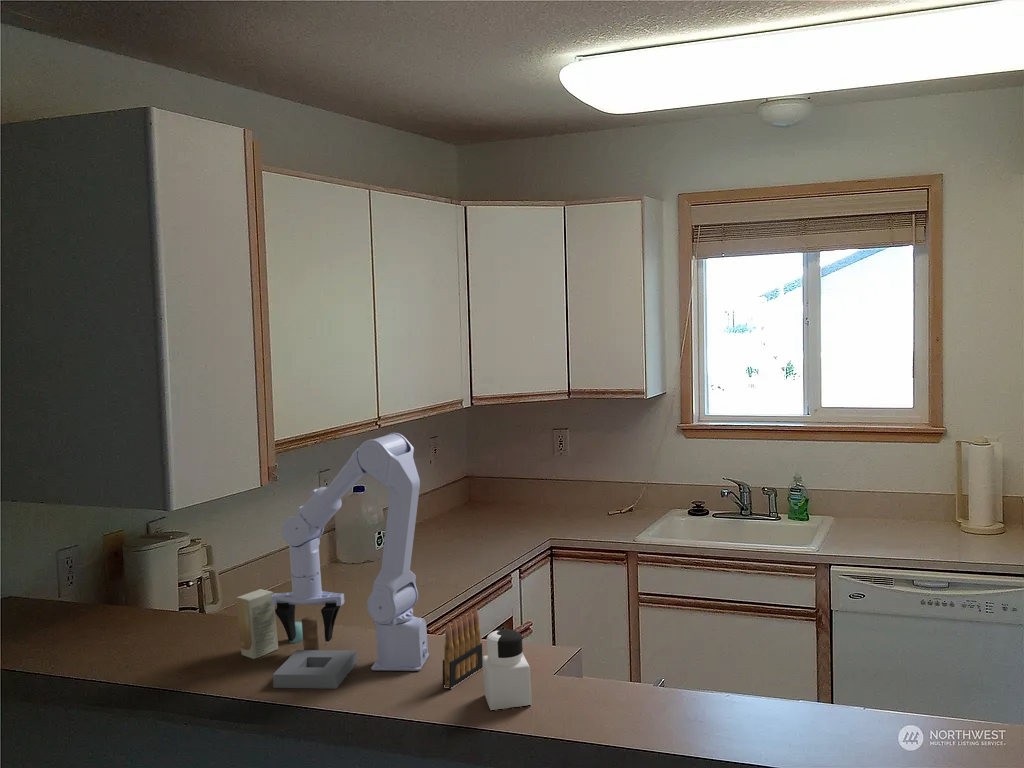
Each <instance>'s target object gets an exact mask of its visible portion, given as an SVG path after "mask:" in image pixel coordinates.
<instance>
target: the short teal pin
mask: <svg viewBox="0 0 1024 768" xmlns="http://www.w3.org/2000/svg"><path fill="white" fill-rule="evenodd" d="M295 629H296V638H295V639H294V640H293V641H289V640H288V643H290V644H296V643H297V644H298V643H301V642H303V633H302V621H295Z"/></svg>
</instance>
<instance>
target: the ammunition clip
mask: <svg viewBox="0 0 1024 768" xmlns="http://www.w3.org/2000/svg"><path fill="white" fill-rule="evenodd" d="M473 609H474V610H473V612H472V610H469V611H468V614H467V613H466V612H465V613H464V615H463V616H461V615H459V616H458V619H457V621H456V619H453V620H452V623H450V622H447V624H446V629H445V637H444V640H445V641H444V645H443V646H444V647H443V648H444V650H443V653H444V654H443V655H444V658H443V659H442V686H443V687H444V685H445V687H449V688H451V687H453V686H454V685H456V684H458V683H459V682H461V681H462V680H464V679H465V678H467V677H468V676H470V675H471V674H473V673H474V672H476V671H478V670H479V669H481V668H482V667H483V660H482V658H483V642H481V628H480V617H479V612H478V609H477V607H475V608H473Z"/></svg>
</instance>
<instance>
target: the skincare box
mask: <svg viewBox="0 0 1024 768" xmlns="http://www.w3.org/2000/svg"><path fill="white" fill-rule="evenodd" d="M272 595H274V591H270V590H266V589H262V588H260V589H256V590H254V591H251V592H247V593H244V594H243V595H239V596H237V597H236V609H237V620H238V630H239V639H240V651H241V655H242V656H244V657H247V658H249V659H253V660H255V659H258V658H260V657H262V656H264V655H268V654H270V653H272V652H274V651H276V650H279V642H278V629H277V622H276V621H277V619H276V613H275V609H276V608H275V606H272V603H271V596H272Z"/></svg>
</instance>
